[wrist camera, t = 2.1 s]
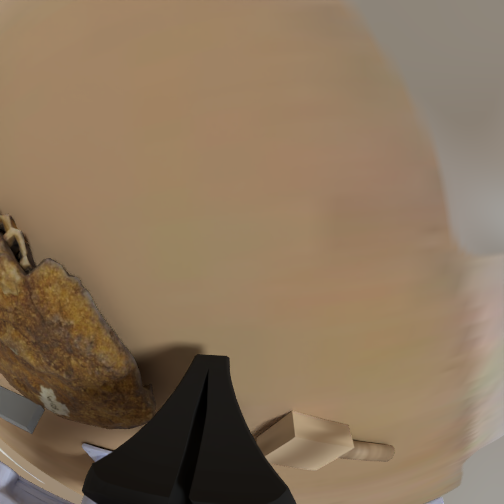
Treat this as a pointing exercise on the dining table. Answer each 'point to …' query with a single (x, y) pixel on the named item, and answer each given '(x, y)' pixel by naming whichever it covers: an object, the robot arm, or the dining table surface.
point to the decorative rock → (63, 343)
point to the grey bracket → (19, 410)
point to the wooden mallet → (315, 443)
